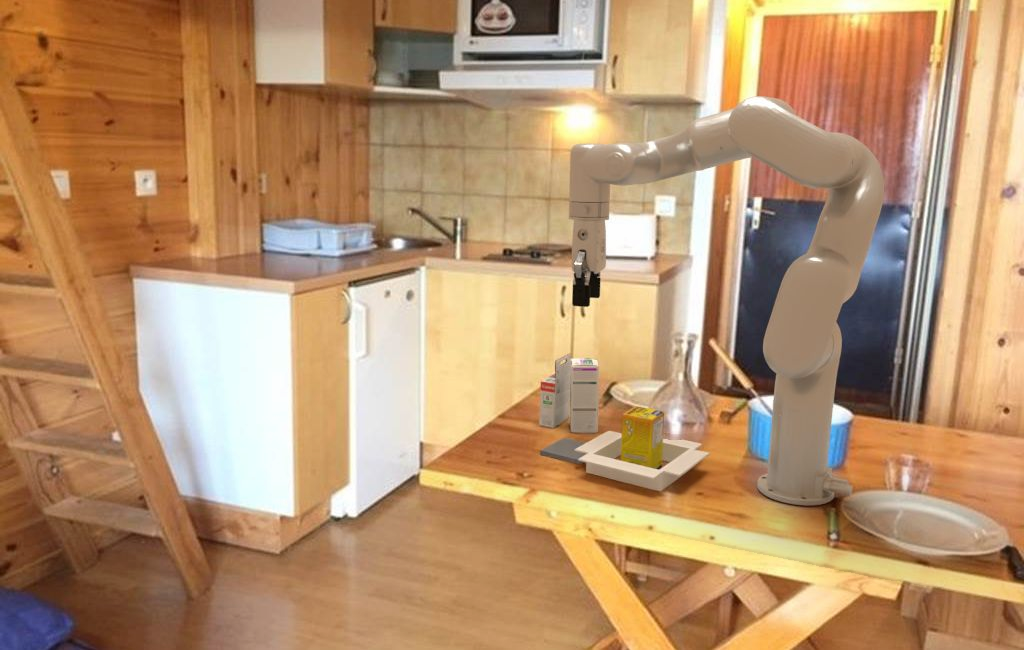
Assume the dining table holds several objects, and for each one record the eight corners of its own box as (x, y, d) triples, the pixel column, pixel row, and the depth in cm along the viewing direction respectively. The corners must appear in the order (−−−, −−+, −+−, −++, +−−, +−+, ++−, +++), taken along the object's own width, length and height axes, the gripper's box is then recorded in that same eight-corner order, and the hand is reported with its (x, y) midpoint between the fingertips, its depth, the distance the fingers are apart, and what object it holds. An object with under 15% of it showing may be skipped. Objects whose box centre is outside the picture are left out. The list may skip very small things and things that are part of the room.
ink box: (538, 426, 179) (539, 358, 176) (554, 416, 186) (556, 350, 183) (554, 429, 177) (556, 360, 174) (569, 418, 184) (571, 352, 181)
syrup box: (598, 433, 175) (600, 364, 172) (569, 433, 175) (571, 364, 172) (596, 424, 180) (598, 358, 177) (568, 424, 180) (570, 357, 177)
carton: (716, 465, 158) (717, 447, 157) (669, 501, 142) (670, 481, 141) (617, 442, 170) (617, 425, 169) (563, 473, 153) (563, 455, 152)
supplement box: (632, 461, 160) (634, 405, 157) (662, 467, 157) (665, 410, 154) (619, 471, 155) (621, 413, 152) (650, 478, 152) (652, 419, 149)
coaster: (604, 450, 165) (604, 446, 165) (580, 464, 158) (581, 460, 157) (564, 441, 170) (564, 437, 170) (539, 454, 163) (540, 450, 162)
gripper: (600, 215, 150) (597, 311, 153) (617, 208, 166) (613, 295, 170) (558, 214, 152) (556, 308, 155) (579, 207, 168) (576, 293, 172)
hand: (586, 301), depth 163 cm, fingers open, 9 cm apart
